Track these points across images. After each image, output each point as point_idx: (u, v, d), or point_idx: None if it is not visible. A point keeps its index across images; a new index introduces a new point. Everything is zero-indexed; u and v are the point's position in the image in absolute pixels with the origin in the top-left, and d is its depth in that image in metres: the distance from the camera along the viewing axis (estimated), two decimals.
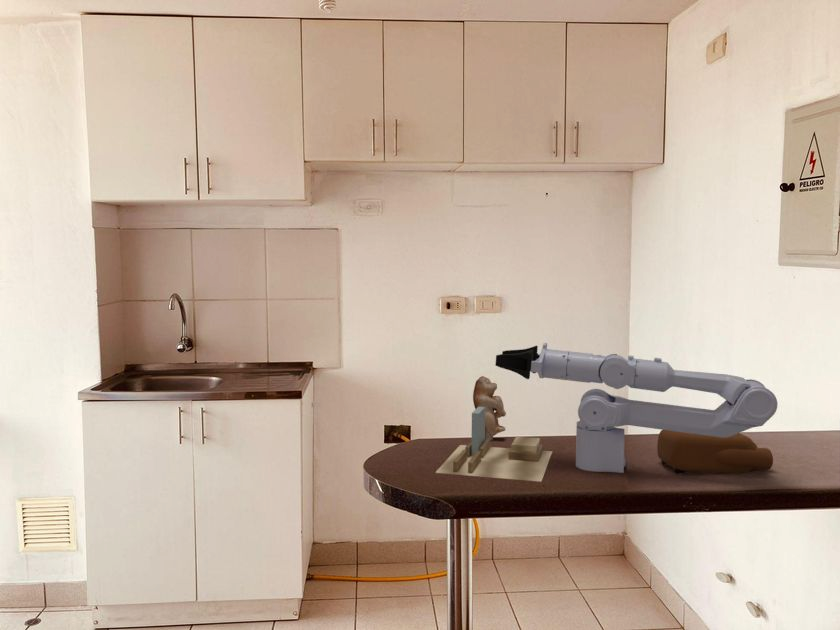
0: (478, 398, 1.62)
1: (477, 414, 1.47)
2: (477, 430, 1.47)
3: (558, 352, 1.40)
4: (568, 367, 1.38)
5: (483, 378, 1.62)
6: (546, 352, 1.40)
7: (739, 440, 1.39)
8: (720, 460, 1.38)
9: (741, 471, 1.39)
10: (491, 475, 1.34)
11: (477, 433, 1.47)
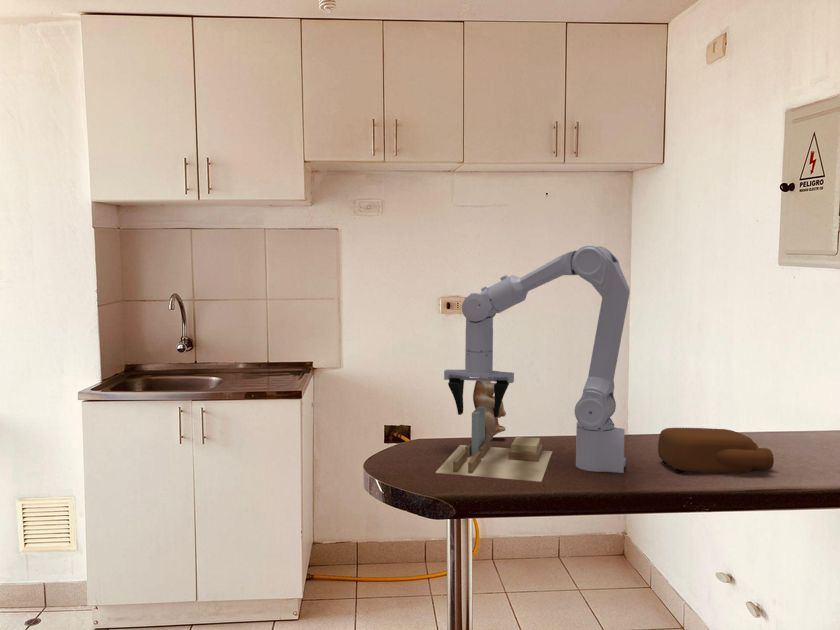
0: (478, 398, 1.62)
1: (477, 414, 1.47)
2: (477, 430, 1.47)
3: None
4: (473, 350, 1.47)
5: None
6: None
7: (740, 441, 1.39)
8: (721, 460, 1.38)
9: (742, 471, 1.39)
10: (491, 475, 1.34)
11: (477, 433, 1.47)
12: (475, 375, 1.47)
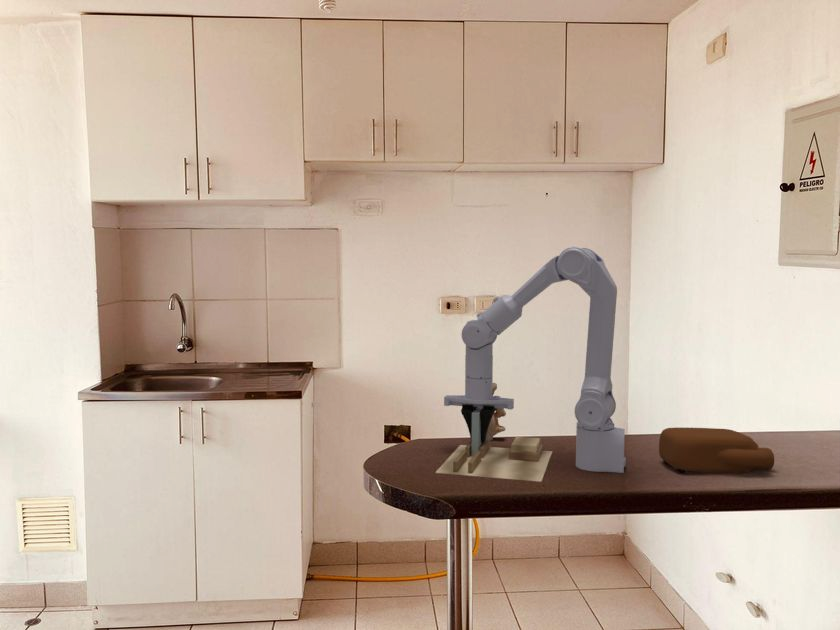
0: None
1: (477, 414, 1.47)
2: (477, 430, 1.47)
3: None
4: (473, 377, 1.47)
5: None
6: None
7: (741, 440, 1.39)
8: (722, 460, 1.38)
9: (742, 471, 1.39)
10: (491, 475, 1.34)
11: (477, 433, 1.47)
12: (475, 402, 1.47)
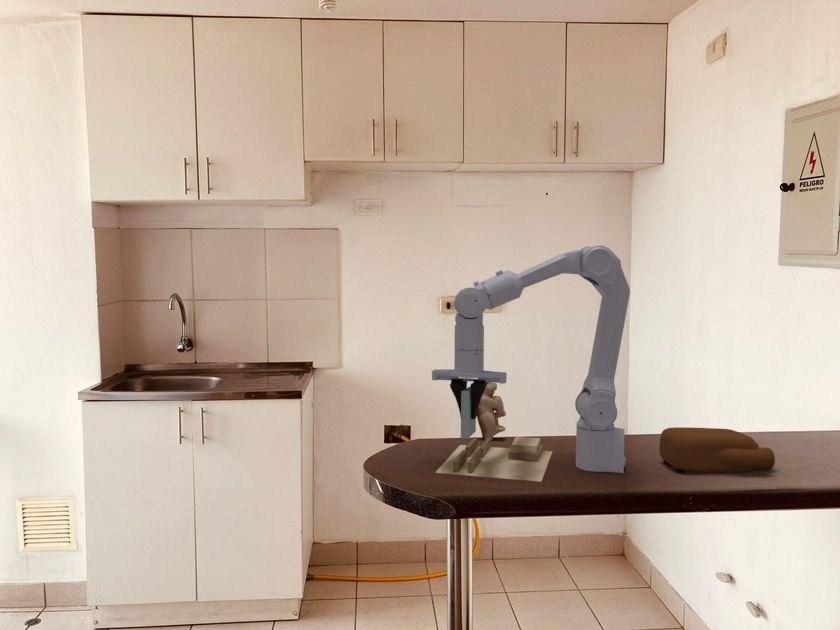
0: None
1: (467, 392, 1.37)
2: (467, 409, 1.37)
3: None
4: (469, 348, 1.36)
5: None
6: None
7: (741, 440, 1.39)
8: (722, 459, 1.38)
9: (743, 471, 1.39)
10: (491, 475, 1.34)
11: (467, 413, 1.37)
12: (465, 375, 1.37)
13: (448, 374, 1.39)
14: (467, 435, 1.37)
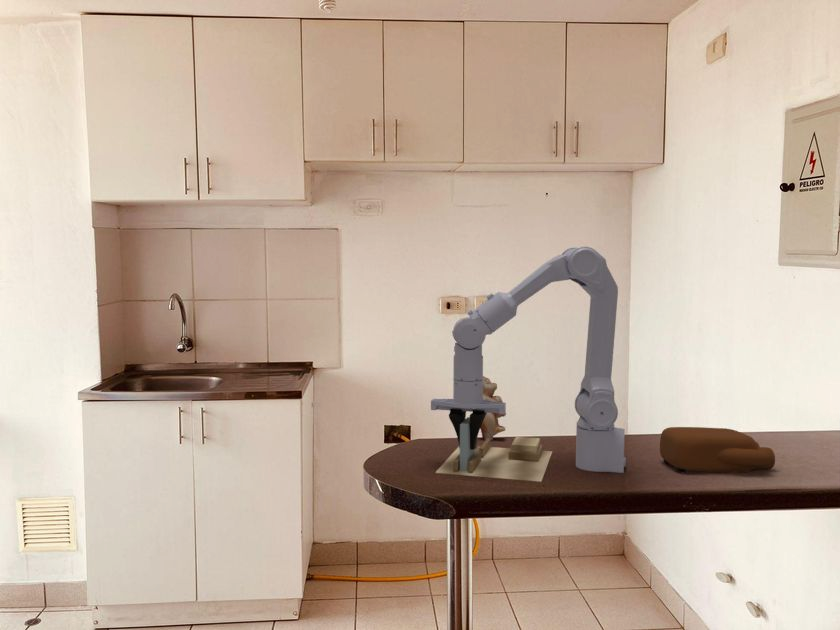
0: None
1: (466, 426, 1.36)
2: (466, 443, 1.36)
3: None
4: (468, 379, 1.36)
5: (483, 378, 1.62)
6: None
7: (741, 440, 1.39)
8: (723, 459, 1.38)
9: (743, 470, 1.39)
10: (491, 475, 1.34)
11: (466, 446, 1.36)
12: (464, 406, 1.36)
13: (447, 404, 1.38)
14: (466, 468, 1.37)
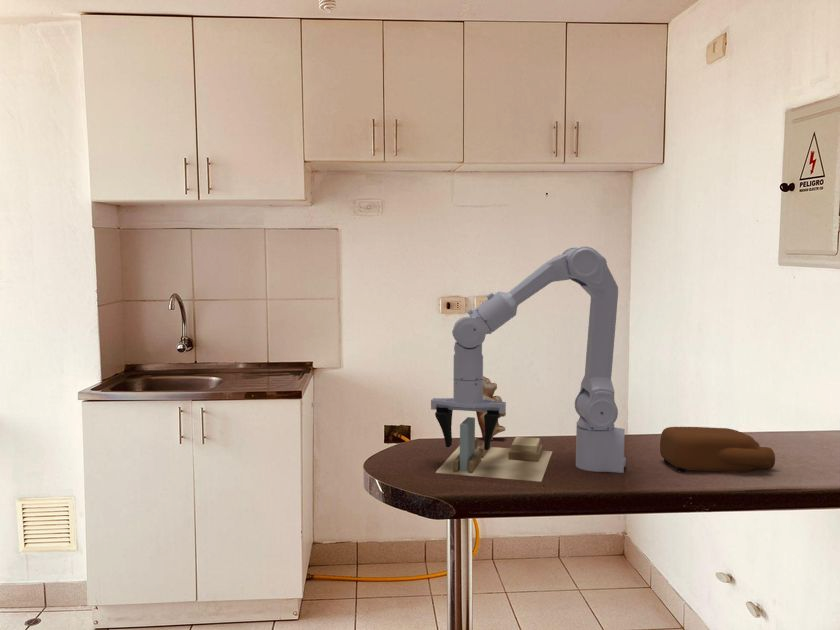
0: None
1: (466, 426, 1.36)
2: (466, 443, 1.36)
3: None
4: (468, 378, 1.36)
5: (483, 378, 1.62)
6: None
7: (741, 439, 1.39)
8: (722, 459, 1.39)
9: (743, 470, 1.40)
10: (491, 475, 1.34)
11: (466, 446, 1.36)
12: (464, 405, 1.36)
13: (447, 404, 1.38)
14: (466, 468, 1.37)
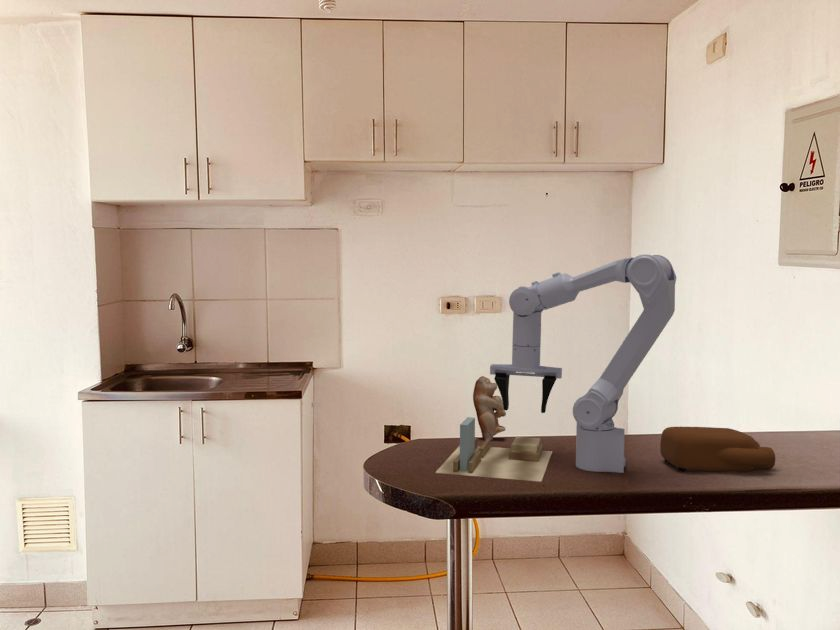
0: (478, 398, 1.62)
1: (466, 426, 1.36)
2: (466, 443, 1.36)
3: None
4: (520, 344, 1.44)
5: (483, 378, 1.62)
6: None
7: (741, 439, 1.40)
8: (723, 458, 1.39)
9: (743, 470, 1.40)
10: (491, 475, 1.34)
11: (466, 446, 1.36)
12: (523, 370, 1.44)
13: (506, 369, 1.46)
14: (466, 468, 1.37)
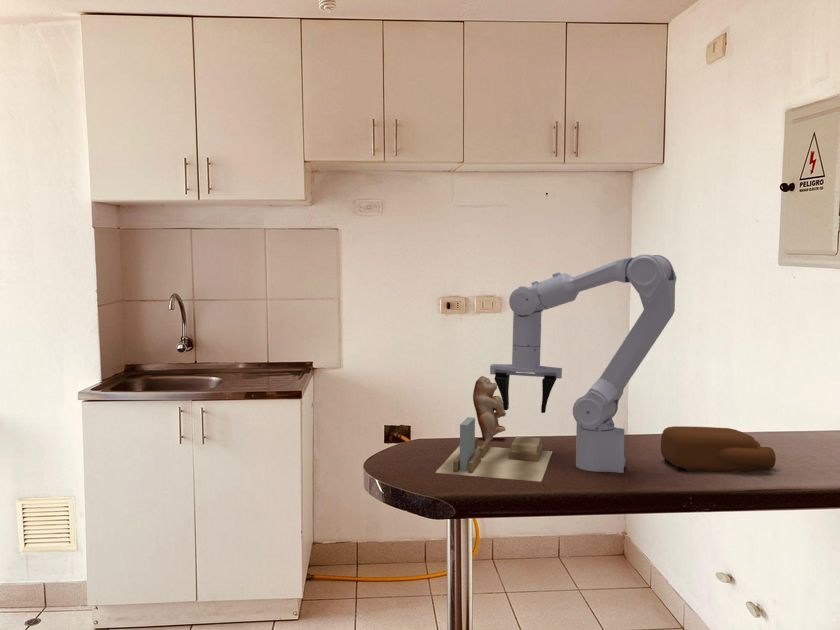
0: (478, 398, 1.61)
1: (466, 426, 1.36)
2: (466, 443, 1.36)
3: None
4: (520, 344, 1.44)
5: (483, 378, 1.62)
6: None
7: (742, 439, 1.40)
8: (723, 458, 1.39)
9: (743, 469, 1.40)
10: (491, 475, 1.34)
11: (466, 446, 1.36)
12: (523, 370, 1.44)
13: (506, 369, 1.46)
14: (466, 468, 1.37)
